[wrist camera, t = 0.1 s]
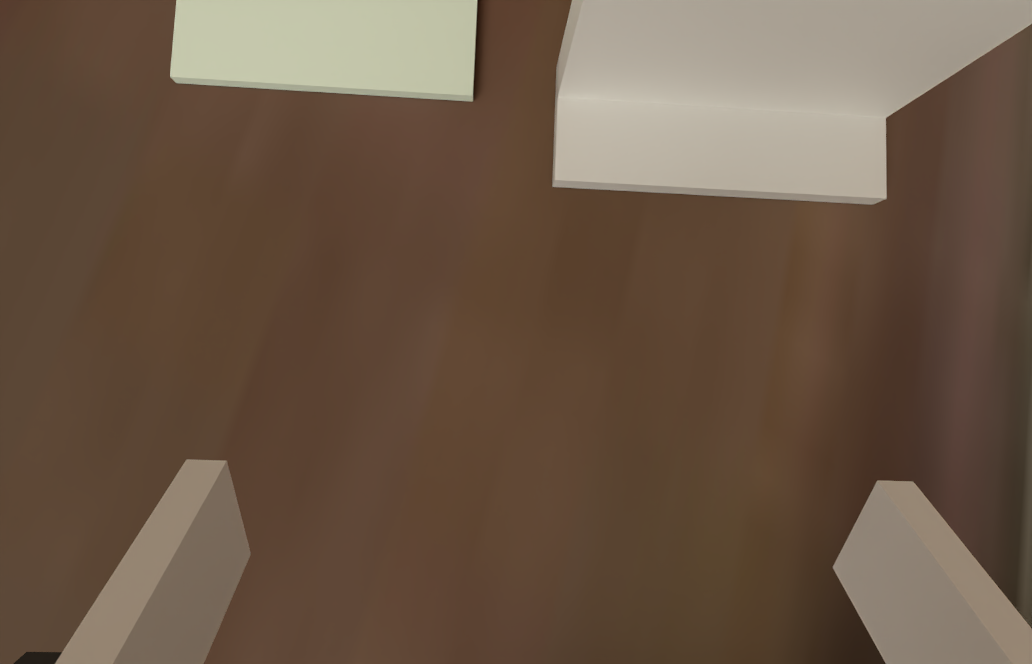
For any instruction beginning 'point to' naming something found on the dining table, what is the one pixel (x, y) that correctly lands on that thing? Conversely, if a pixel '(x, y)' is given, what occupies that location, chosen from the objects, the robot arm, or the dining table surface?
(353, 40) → the tile
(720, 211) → the dining table surface
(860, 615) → the robot arm
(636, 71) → the screen
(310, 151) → the dining table surface
